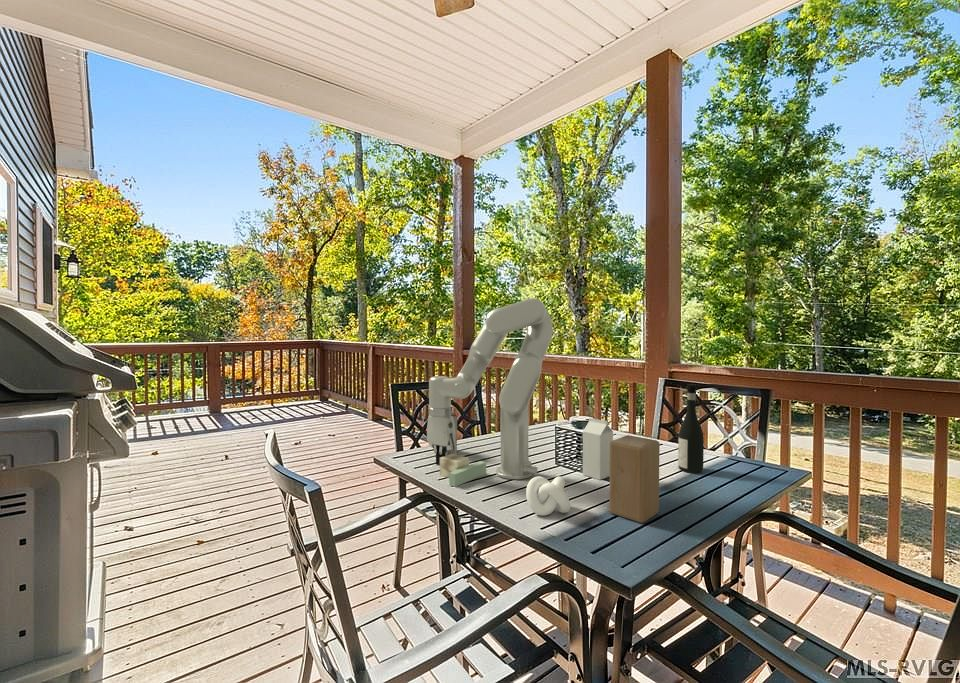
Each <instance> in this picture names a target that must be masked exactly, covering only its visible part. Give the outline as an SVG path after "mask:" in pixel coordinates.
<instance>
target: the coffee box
mask: <svg viewBox="0 0 960 683" xmlns="http://www.w3.org/2000/svg"><path fill="white" fill-rule="evenodd" d="M451 416H453V419H454V425H455V436H456V442H455V444H452V445H453V449H452V450H448V451H447V453H445V456H447V455H450V454H455V455H458V414H456V413H454V412H452V414H451ZM443 448H444V447H443Z"/></svg>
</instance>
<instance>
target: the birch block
mask: <svg viewBox="0 0 960 683" xmlns="http://www.w3.org/2000/svg"><path fill="white" fill-rule="evenodd" d="M469 465H470V458H469V457H465V456H463V455H459V454H457V455H455V454H450V455H447V456H444V457H441V458H440V466H439V476H441V475H442V476H441V477H444V476H445V478H448V479H449V473H450V472H453V471H455V470H458V469H461V468H463V467H466V466H469Z"/></svg>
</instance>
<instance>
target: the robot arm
mask: <svg viewBox="0 0 960 683" xmlns="http://www.w3.org/2000/svg"><path fill="white" fill-rule="evenodd" d="M524 328H527V331H526V334H525V337H524V339H523V342H522V344H521V346H520V349H519V351H518V354H517V356H516V357H515V358H514V360H513V361H512V365H511V367H510V370H509V372H508V374H507V376H506V379H505V381H504V384H503V385H502V386H503V387H502V388H501V390H500V392H499V396H498V402H499V405H500V466H498V467H497V468H496V470H495V472H496V473H495V474H496V475H497V476H498V477H500V478H502V479H508V480H523V479H524V480H525V479H528V478H530V477H532V476H533V475H537V473H538V466H534V465H533V464H532V460H529V459H530V458H529V457H530V456H529V455H530V454H529V428H530V427H529V420H530V419H529V418H530V417H529V414H530V413H529V406H530V405H529V404H530V401H531V399H532V396H533V394H534V392H535V390H536V387H537V385H538V382H539V380H540V377H541V375H542V365H543V361H544V359H545V357H546V354H547V351H548V349H549V346H550V345H551V344H550V343H551V341H552V338H553V331H554V329H553V328H554V327H553V321H552V317H551V315H550V314H549V312H548V310H547V309H546V306H545V304H544V303H543V302H542V300H540V299H538V298H533V297H530V298H527V299H524V300H520V301H518V302H514V303H511V304H508V305H505V306H501V307H498V308H494V309H492V310H490V312H488V313H487V315H486V317H485V322H484V323H483V325H482V327H481V328H480V330H479V333H478V334H477V336H476V337H475V338H474V340H473V342H472V344H471V346H470V348H469V354H468V356H467V358H466V361H465V363H464V364H463V366H462V367H461V370H460V371H459V373H458V374H457V375H456V376H455V377H450V376H445V375H437V376H432V377H430V378H429V379H428V380H429V381H428V399H429V400H428V403H429V406H428V407H429V408H428V409H429V411H428V414H429V415H428V417H427V425H426V440H427V442H428V445H429V446H430V447H431V448H432V449H433V452H434V454H435V465H436V466H439V467H440V458H441V457H444V456H445V453H447V451H448V450H452V449H453V445H452V444H455V442H456V436H455V425H454V419H453V416H451V414H452V413H453V410H452V399H456V400H464V399H467V398H468V397H469V396H470V395H471V393H472V392H473V391H474V390H475V388H476V386H477V384H478V383H479V380H480V379H481V377H482V375H483V374H484V373H485V371H486V369H487V367H488V366H489V365H490V363H491V362H492V361H493V359H494V357H495V355H496V354H497V352H498V350H499V348H500V347H501V345H502V344H503V343H504V340H505V338H506V337H507V335H508V333H513V332H515V331H518V330H523V329H524ZM443 447H444V448H443Z"/></svg>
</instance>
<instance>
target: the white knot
mask: <svg viewBox="0 0 960 683" xmlns="http://www.w3.org/2000/svg"><path fill="white" fill-rule="evenodd" d="M565 485H566V481H565V478H564V477H563V476H561V475H560V476H556V477H555V478H554V479H553V480H551V482H550V481H549V480H548V479H547V478H545V477H542V476H540V475H539V476H534V477H533V478H531V479H530V480H529V481H528V483H527V486H526V489H525V493H526V501H527V504H528V506H529V508H530V509H531V511H532V512H533V513H535V514H536V515H538V516H542V517H544V516H548V515H550V514H552V513H553V512H554V511H555V510H556V511H557V512H559V513H561V514H567V513H568V512H570V510H571V502H570V499H569V497H568V495H567V494H566V492H564V488H565Z"/></svg>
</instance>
